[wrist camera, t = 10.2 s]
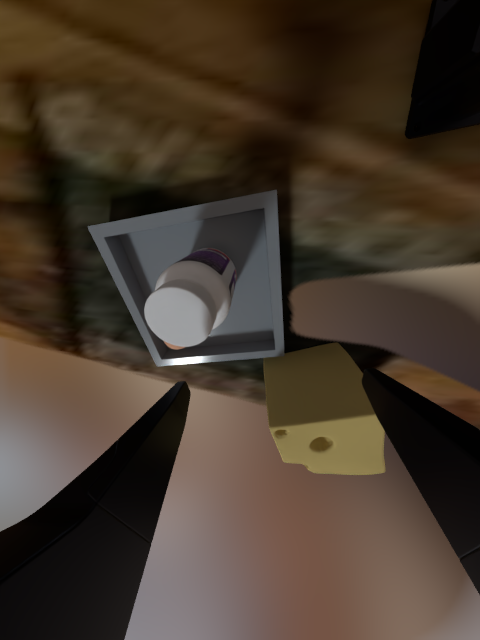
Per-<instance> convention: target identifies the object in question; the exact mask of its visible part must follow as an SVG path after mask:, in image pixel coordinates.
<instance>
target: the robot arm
mask: <svg viewBox="0 0 480 640" xmlns="http://www.w3.org/2000/svg"><path fill="white" fill-rule="evenodd" d="M411 97H412V101H411V106H410V111H409V116H408V121H407V126H406V131H405V135H406V137H407V138H408V139H412V138H417V137H422V136H427V135H431V134H436V133H441V132H446V131H450V130H455V129H460V128H465V127H469V126H474V125H479V124H480V0H446V1H443V0H433V1H432V4H431V9H430V14H429V19H428V24H427V29H426V33H425V37H424V39H423V41H422V45H421V50H420V55H419V60H418V64H417V69H416V74H415V79H414V84H413V89H412V94H411ZM414 125H416V126H417V130H416V132H414V131H413V127H414ZM362 386H363V388H364V390H365V393H366V395H367V397H368V399H369V401H370V404H371V406H372V408H373V410H374V412H375V414H376V417H377V418H378V420H379V422H380V424H381V426H382V427H383V429H384V431H385V432H386V434H387V436H388V438H389V439H390V441H391V443H392V444H393V446H394V448H395V449H396V451H397V453H398V455H399V456H400V458H401V460H402V462H403V463H404V465H405V467H406V469H407V470H408V472H409V474H410V475H411V477H412V479H413V481H414V482H415V484H416V486H417V487H418V489H419V491H420V493H421V494H422V496H423V498H424V499H425V501H426V503H427V505H428V506H429V508H430V510H431V512H432V513H433V515H434V517H435V518H436V520H437V521H438V524H439V525H440V527H441V529H442V530H443V532H444V534H445V536H446V537H447V539H448V541H449V542H450V544H451V546H452V548H453V549H454V551H455V553H456V554H457V556H458V558H460V562H461V563H462V565H463V567H464V569H465V570H466V572H467V574H468V575H469V577H470V579H471V580H472V582H473V584H474V586H475V588H476V589H477V591H478V593H479V594H480V430H479V429H478V428H476V427H475V426H473V425H471V424H470V423H468V422H466V421H464V420H463V419H461V418H459V417H458V416H456V415H454V414H452V413H451V412H449V411H447V410H446V409H444V408H442V407H440V406H439V405H437V404H435V403H434V402H432V401H430V400H428V399H427V398H425V397H423V396H422V395H420V394H418V393H416V392H415V391H413V390H411V389H410V388H408V387H406V386H404V385H403V384H401V383H399V382H398V381H396V380H394V379H392V378H391V377H389V376H387V375H386V374H384V373H382V372H380V371H379V370H377V369H375V368H368V369H365V370H364V372H363V377H362ZM189 401H190V390H189V387H188V385H187V383H186V382H185V381H181V382H177V383H176V384H175V385H174V386H173V387H172V388H171V389H170V390H169V391H168V392H167V393H166V394H165V395H164V396H163V397H162V398H161V399H159V400H158V401H157V402H156V404H154V405H153V406H152V407H151V408H150V409H149V410H148V411H147V412H146V413H145V414H144V415H143V416H142V417H141V418H140V419H139V420H138V421H137V422H136V423H135V424H134V425H133V426H132V427H130V428H129V429H128V430H127V431H126V432H125V433H124V434H123V435H122V436H121V437H120V438H119V439H118V440H117V441H116V442H115V443H114V444H113V445H112V446H111V447H110V448H109V449H108V450H107V451H105V452H104V453H103V454H102V455H101V456H100V457H99V458H98V459H97V460H96V461H95V462H94V463H92V464H91V465H90V466H89V467H88V468H87V469H86V470H84V471H83V472H82V473H81V474H80V475H79V476H77V477H76V478H75V479H74V480H73V481H72V482H71V483H69V484H68V485H67V486H66V487H65V488H64V489H63V490H61V491H60V492H59V493H58V494H57V495H55V496H54V497H53V498H52V499H51V500H50V501H48V502H47V503H46V504H45V505H44V506H42V507H41V508H40V509H39V510H37V511H36V512H35V513H33V514H32V515H30V516H29V517H27V518H25V519H24V520H22V521H20V522H19V523H17V524H15V525H13V526H11V527H9V528H7V529H5V530H3V531H1V532H0V640H124V638H125V635H126V631H127V628H128V624H129V621H130V617H131V614H132V610H133V606H134V603H135V599H136V596H137V593H138V589H139V585H140V582H141V579H142V575H143V571H144V568H145V565H146V561H147V557H148V554H149V551H150V547H151V542H152V540H153V536H154V532H155V529H156V526H157V522H158V518H159V515H160V511H161V508H162V504H163V501H164V497H165V494H166V490H167V486H168V483H169V480H170V476H171V473H172V469H173V465H174V462H175V459H176V455H177V452H178V448H179V445H180V441H181V437H182V434H183V431H184V427H185V422H186V417H187V412H188V406H189Z"/></svg>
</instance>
